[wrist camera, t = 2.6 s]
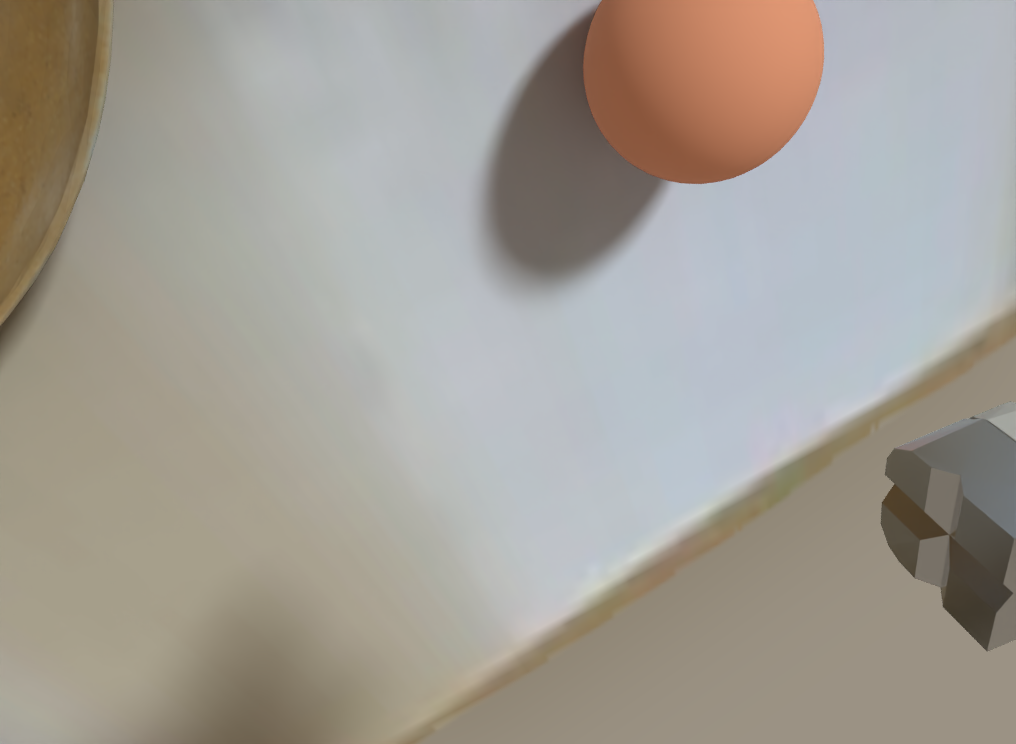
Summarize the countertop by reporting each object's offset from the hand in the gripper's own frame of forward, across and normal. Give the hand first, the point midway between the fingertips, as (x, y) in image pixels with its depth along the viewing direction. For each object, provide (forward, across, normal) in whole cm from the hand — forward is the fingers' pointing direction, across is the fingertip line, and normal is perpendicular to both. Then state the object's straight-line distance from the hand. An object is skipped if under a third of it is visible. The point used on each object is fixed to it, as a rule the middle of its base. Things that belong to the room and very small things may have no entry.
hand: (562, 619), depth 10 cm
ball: (+13, -9, 0) cm, 16 cm away
